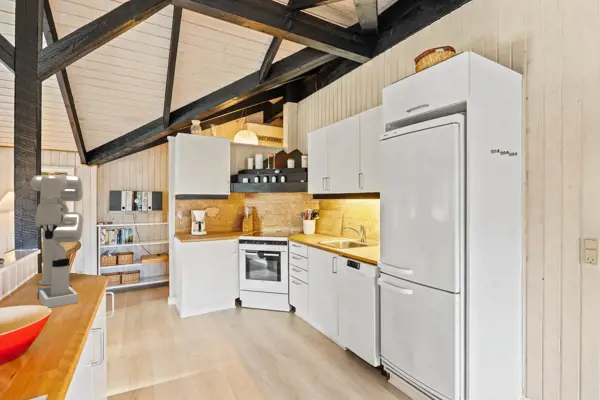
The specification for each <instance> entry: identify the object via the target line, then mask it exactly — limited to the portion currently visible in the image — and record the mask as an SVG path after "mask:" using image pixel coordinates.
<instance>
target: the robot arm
mask: <svg viewBox="0 0 600 400" xmlns="http://www.w3.org/2000/svg"><path fill="white" fill-rule="evenodd" d="M30 187H31V189H32V190H33V191H36V192H40V197H39V199H40V200H39V203H38V204H37V208H36V212H35V227H36V228H41V229H42V231H41V236H42V244H43V246H42V247H43V257H42V259H43V261H42V278H41V279H40V280H39V281H38V285H41V286H51V280H52V265H53V264H52V261H53V260H58V259H66V248H65V247H64V246H63V245H62V244H61V243H74V242H79V241H80V240H81V239H82V236H83V235H82V234H83V224H84V221H83V220H84V219H83V216H82V214H81V213H80V212H72V211H71V212H70V211H69V207H68V206H67V205H66V204H64V202H80V201H81V200H82V199H83V195H84V194H83V193H84V192H83V183H82V180H81V177H79V176H78V175H72V174H71V175H67V174H49V175H34V176H33V177H31V180H30Z"/></svg>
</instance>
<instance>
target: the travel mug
mask: <svg viewBox="0 0 600 400" xmlns="http://www.w3.org/2000/svg"><path fill="white" fill-rule="evenodd" d="M52 264H53V265H52V280H51V285H50V287H51V296H50V298H52V297H58V296H64V295H68V293H69V284H70V258H67V257H65V259H58V260H53V261H52Z"/></svg>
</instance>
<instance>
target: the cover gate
mask: <svg viewBox="0 0 600 400" xmlns="http://www.w3.org/2000/svg"><path fill="white" fill-rule="evenodd" d="M40 290H43V291H44V293H45V294H46V295H47V297H48V298H51V286H45V287H42V286H39V287H38V286H37V293H36V294H37V295H36V298H37V300H39V291H40Z"/></svg>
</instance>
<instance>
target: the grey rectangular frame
mask: <svg viewBox="0 0 600 400" xmlns="http://www.w3.org/2000/svg"><path fill="white" fill-rule="evenodd" d="M38 300H39V302H40V304H41V305H42V306H43V307H44V306H47V307H50V308H49V309H51V308H57V307H61V306H68V305H73V304H78V302H79V293H78V292H76V291H75V290H74V289H73V283H69V293H68V295H64V296H58V297H52V298H51V297H47V295H46V294H45V293H44V291H43V290H40V291H39V299H38Z"/></svg>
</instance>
